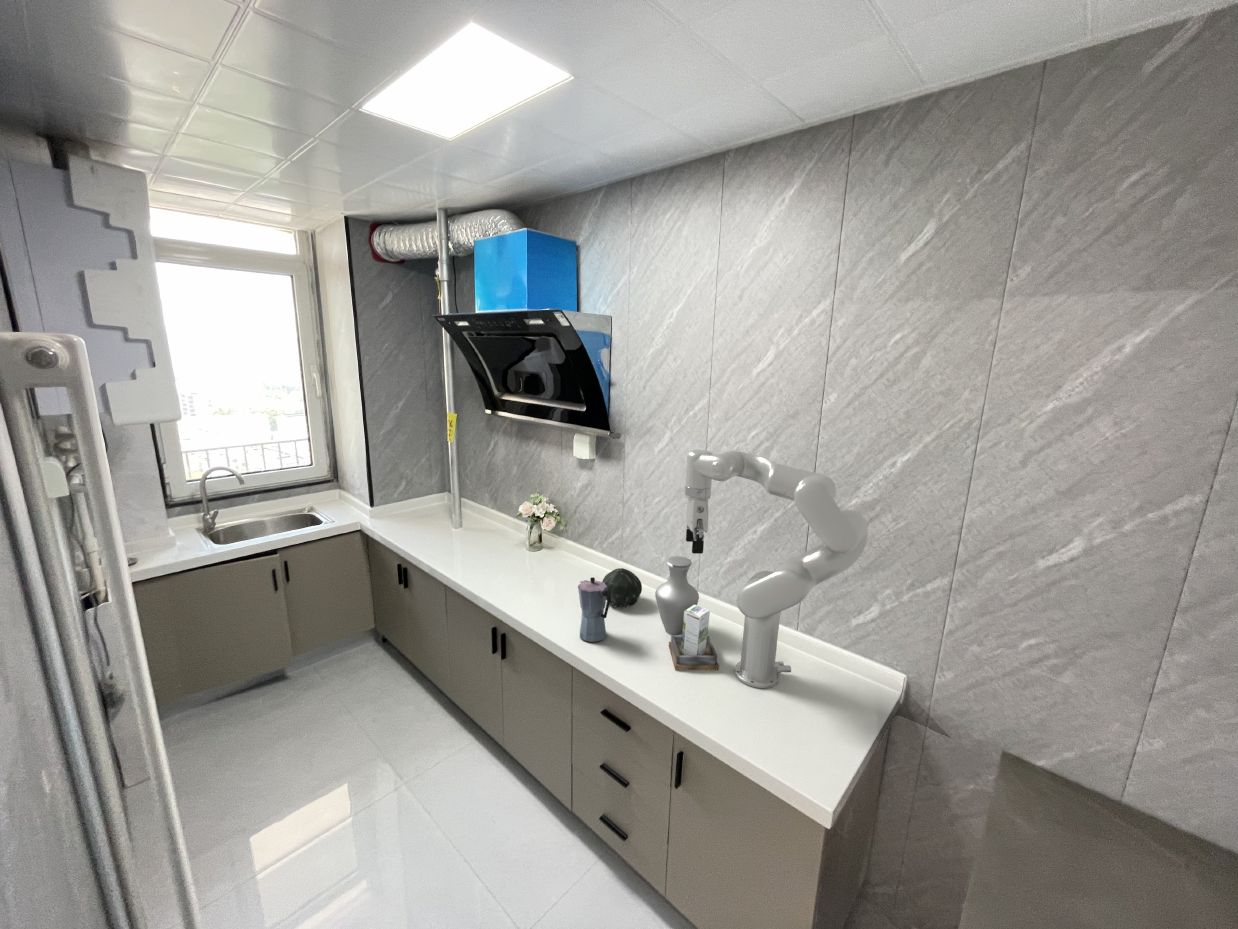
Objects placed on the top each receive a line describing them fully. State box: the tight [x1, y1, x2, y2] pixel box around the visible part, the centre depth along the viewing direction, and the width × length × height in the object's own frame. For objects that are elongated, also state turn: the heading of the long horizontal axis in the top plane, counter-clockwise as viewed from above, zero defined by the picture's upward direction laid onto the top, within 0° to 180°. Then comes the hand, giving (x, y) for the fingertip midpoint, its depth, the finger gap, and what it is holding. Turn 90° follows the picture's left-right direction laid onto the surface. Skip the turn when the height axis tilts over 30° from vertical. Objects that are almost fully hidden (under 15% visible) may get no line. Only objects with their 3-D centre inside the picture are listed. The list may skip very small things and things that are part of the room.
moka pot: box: [577, 577, 611, 643], centre depth 165 cm, size 10×15×20 cm, turn 45°
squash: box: [601, 567, 643, 608], centre depth 190 cm, size 14×15×15 cm
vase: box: [654, 555, 700, 636], centre depth 170 cm, size 14×14×25 cm
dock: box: [668, 635, 720, 671], centre depth 157 cm, size 13×13×4 cm
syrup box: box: [681, 604, 711, 656], centre depth 155 cm, size 6×6×14 cm
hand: (694, 547), depth 154 cm, fingers open, 9 cm apart
